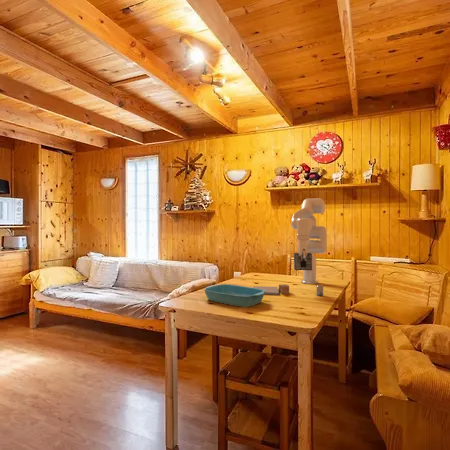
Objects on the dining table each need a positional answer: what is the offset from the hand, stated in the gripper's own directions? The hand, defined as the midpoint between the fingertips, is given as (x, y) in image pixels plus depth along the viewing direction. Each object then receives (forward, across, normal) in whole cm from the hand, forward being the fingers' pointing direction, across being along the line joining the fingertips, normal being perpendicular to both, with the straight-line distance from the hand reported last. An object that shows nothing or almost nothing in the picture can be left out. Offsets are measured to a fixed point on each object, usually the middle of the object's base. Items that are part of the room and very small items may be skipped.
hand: (302, 265), depth 197 cm
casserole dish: (+17, +26, -41) cm, 52 cm away
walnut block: (+17, +1, -12) cm, 21 cm away
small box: (+2, 0, 0) cm, 2 cm away
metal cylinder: (+17, +5, +10) cm, 20 cm away
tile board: (+17, -1, -23) cm, 29 cm away
